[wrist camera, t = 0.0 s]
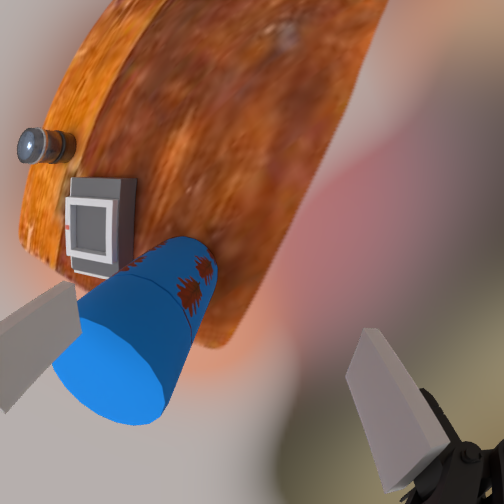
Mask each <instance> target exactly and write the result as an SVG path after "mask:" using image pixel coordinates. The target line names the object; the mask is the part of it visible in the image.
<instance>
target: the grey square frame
mask: <svg viewBox="0 0 504 504" xmlns="http://www.w3.org/2000/svg"><path fill="white" fill-rule="evenodd" d="M136 184H137V179H134V178H112V177H74V178H71V187H70V197H66V209H65V225H66V252H67V256H71V265H72V268H73V269H74V272H76V273H80V274H85V275H89V276H94V277H98V278H103V279H108V278H109V277H111V276H112V275H114V274H115V273H116V272H118V271H119V270H121V269H122V268H124V267H125V266H126V265H128V264H129V263H131V262H132V261H133V240H134V213H135V197H136Z"/></svg>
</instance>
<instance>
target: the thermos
mask: <svg viewBox="0 0 504 504" xmlns="http://www.w3.org/2000/svg"><path fill="white" fill-rule="evenodd" d="M217 272H218V267H217V264H216V261H215V258H214V256H213V255H212V253H211V252H210V251H209V249H208V248H207V247H206V246H205V245H203V244H202V243H200V242H199V241H197V240H196V239H192V238H188V237H184V236H183V237H174V238H171V239H168V240H166V241H164V242H162V243H160V244H159V245H157V246H155V247H153V248H152V249H150V250H149V251H147V252H146V253H144V254H143V255H141V256H140V257H138V258H137V259H135V260H134V261H132V262H131V263H129V264H128V265H126V266H125V267H124V268H122V269H121V270H119V271H118V272H116V273H115V274H114V275H112V276H111V277H109V278H108V279H106V280H105V281H104V282H102V283H101V284H100V285H98V286H97V287H95V288H94V289H93V290H91V291H90V292H89V293H87V294H86V295H85V296H83V297H82V298H81V299H79V300H78V301H77V306H78V312H79V318H80V324H81V330H82V334H81V335H80V336H79V337H78V338H77V339H76V340H75V341H74V342H73V343H72V344H71V345H70V346H69V347H68V348H67V349H66V350H65V351H64V352H63V353H62V354H61V355H60V356H59V357H58V358H57V359H56V360H55V361H54V362H53V363H52V366H53V368H54V370H55V372H56V374H57V375H58V377H59V378H60V380H61V381H62V383H63V384H64V386H65V387H66V388H67V389H68V390H69V391H70V392H71V393H72V394H73V395H74V396H75V397H76V398H77V399H78V400H79V401H80V402H81V403H82V404H84V405H85V406H86V407H88V408H89V409H91V410H92V411H94V412H95V413H97V414H98V415H101V416H103V417H105V418H107V419H109V420H112V421H114V422H117V423H122V424H127V425H133V426H134V425H144V424H150V423H151V422H153V421H154V420H156V419H157V418H159V417H160V416H161V415H162V413H163V411H164V410H165V408H166V406H167V405H168V403H169V401H170V398H171V396H172V393H173V391H174V388H175V386H176V383H177V381H178V378H179V375H180V373H181V371H182V368H183V366H184V363H185V361H186V358H187V355H188V353H189V351H190V348H191V346H192V343H193V341H194V338H195V336H196V333H197V331H198V328H199V326H200V323H201V321H202V319H203V316H204V314H205V311H206V309H207V307H208V304H209V302H210V299H211V297H212V294H213V292H214V290H215V286H216V282H217Z"/></svg>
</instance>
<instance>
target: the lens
mask: <svg viewBox="0 0 504 504" xmlns="http://www.w3.org/2000/svg"><path fill="white" fill-rule="evenodd" d="M75 151H76V139H75V137H74V136H73V135H72V134H70V133H64V132H63V131H57V130H56V131H50V130H45V129H43V128H38V127H37V128H28V129H26V130H25V131H24V132H23V133H22V135H21V136H20V139H19V141H18V145H17V155H18V158H19V160H20V162H22V163H28V164H38V163H49V164H57V163H66V162H68V161H70V160H71V159H72V157H73V156H74V154H75Z"/></svg>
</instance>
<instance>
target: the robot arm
mask: <svg viewBox="0 0 504 504" xmlns="http://www.w3.org/2000/svg"><path fill="white" fill-rule="evenodd" d="M81 334H82V330H81V324H80V318H79V312H78V306H77V299H76V291H75V284H74V283H70V282H66V281H62V282H61V283H59V284H58V285H56V286H54V287H53V288H51V289H49V290H48V291H46V292H45V293H43V294H41V295H40V296H38V297H37V298H35V299H34V300H32V301H30V302H29V303H27V304H26V305H24V306H23V307H21V308H20V309H18V310H17V311H15V312H14V313H12V314H11V315H9V316H8V317H7V318H6V319H4V320H2V321H1V322H0V410H1V411H2V412H3V413H5V414H6V413H7V412H8V411H9V410H10V408H11V407H12V406H13V405H14V404H15V403H16V402H17V400H18V399H19V398H20V397H21V396H22V395H23V394H24V393H25V392H26V390H27V389H28V388H29V387H30V386H31V385H32V384H33V383H34V382H35V381H36V380H37V378H38V377H39V376H40V375H41V374H42V373H43V372H44V371H45V370H46V369H47V368H48V367H49V366H50V365H51V364H52V363H53V362H54V361H55V360H56V359H57V358H58V357H59V356H60V355H61V354H62V353H63V352H64V351H65V350H66V349H67V348H68V347H69V346H70V345H71V344H72V343H73V342H74V341H75V340H76V339H77V338H78V337H79V336H80V335H81ZM345 378H346V381H347V383H348V386H349V389H350V391H351V394H352V397H353V400H354V402H355V405H356V408H357V411H358V414H359V416H360V419H361V422H362V425H363V428H364V431H365V434H366V436H367V439H368V443H369V446H370V449H371V452H372V455H373V458H374V461H375V464H376V467H377V470H378V473H379V477H380V480H381V483H382V486H383V490H384V493H385V494H386V493H390V492H394V491H398V490H401V489H404V488H405V487H406V486H407V485H408V484H410V483H411V482H412V481H414V484H415V487H414V488H413V489H412V490H411V491H409V492H408V493H407V494H406V495H404V497H402V498H401V500H400V502H402V501H404V500H405V499H406V498H408V499H407V501H406V503H405V504H504V439H503V440H502V441H501V442H500V443H499V444H498V445H497V446H496V447H495V448H494V449H490V450H481V449H480V448H479V447H478V446H477V445H476V444H474V443H472V442H467V441H465V442H462V441H461V440H460V438H459V437H458V435H457V433H456V432H455V430H454V428H453V427H452V425H451V423H450V422H449V420H448V419H447V417H446V415H444V414H443V413H444V412H443V411H442V409H441V408H440V407H439V405H438V403H437V401H436V400H435V398H434V397H433V396H432V395H431V394H430V393H429V392H428V391H426V390H425V389H424V388H421V389H418V387H417V386H416V384H415V382H414V381H413V379H412V378H411V376H410V375H409V373H408V372H407V370H406V368H405V367H404V365H403V364H402V362H401V361H400V359H399V358H398V357H397V355H396V354H395V352H394V351H393V349H392V348H391V346H390V345H389V343H388V342H387V341H386V339H385V338H384V336H383V335H382V333H381V332H380V331H379V329H372V328H363V330H362V334H361V336H360V339H359V342H358V344H357V347H356V350H355V353H354V355H353V358H352V360H351V363H350V366H349V368H348V371H347V373H346V376H345ZM491 487H492V494H491V495H490V496H488V497H487V498H486V496H485V492H486V491H488V490H489V489H490V488H491Z"/></svg>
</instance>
